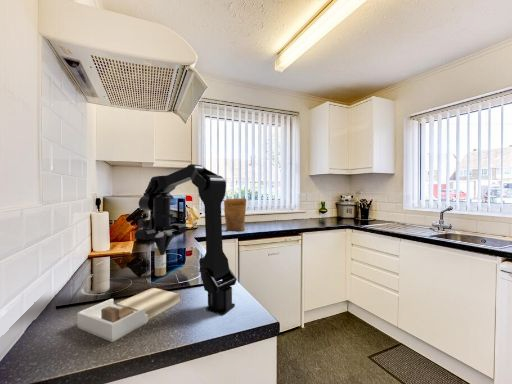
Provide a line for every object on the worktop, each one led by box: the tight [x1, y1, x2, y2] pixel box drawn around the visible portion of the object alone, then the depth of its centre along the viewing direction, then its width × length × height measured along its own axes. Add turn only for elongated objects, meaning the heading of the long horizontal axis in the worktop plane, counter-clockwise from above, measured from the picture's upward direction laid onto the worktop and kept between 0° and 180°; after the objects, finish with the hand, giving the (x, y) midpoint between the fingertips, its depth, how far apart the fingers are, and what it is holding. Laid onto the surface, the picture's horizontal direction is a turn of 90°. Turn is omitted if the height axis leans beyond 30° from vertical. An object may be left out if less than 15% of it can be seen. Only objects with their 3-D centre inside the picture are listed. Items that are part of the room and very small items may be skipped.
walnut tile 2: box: [119, 307, 133, 320], centre depth 68 cm, size 4×4×2 cm
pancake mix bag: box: [223, 197, 247, 232], centre depth 215 cm, size 7×19×28 cm, turn 96°
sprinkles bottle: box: [153, 242, 167, 277], centre depth 106 cm, size 5×5×14 cm
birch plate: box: [116, 287, 181, 321], centre depth 76 cm, size 12×13×2 cm
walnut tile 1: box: [101, 306, 119, 323], centre depth 65 cm, size 4×4×2 cm
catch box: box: [76, 298, 149, 343], centre depth 66 cm, size 14×10×4 cm
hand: (162, 254), depth 91 cm, fingers closed
